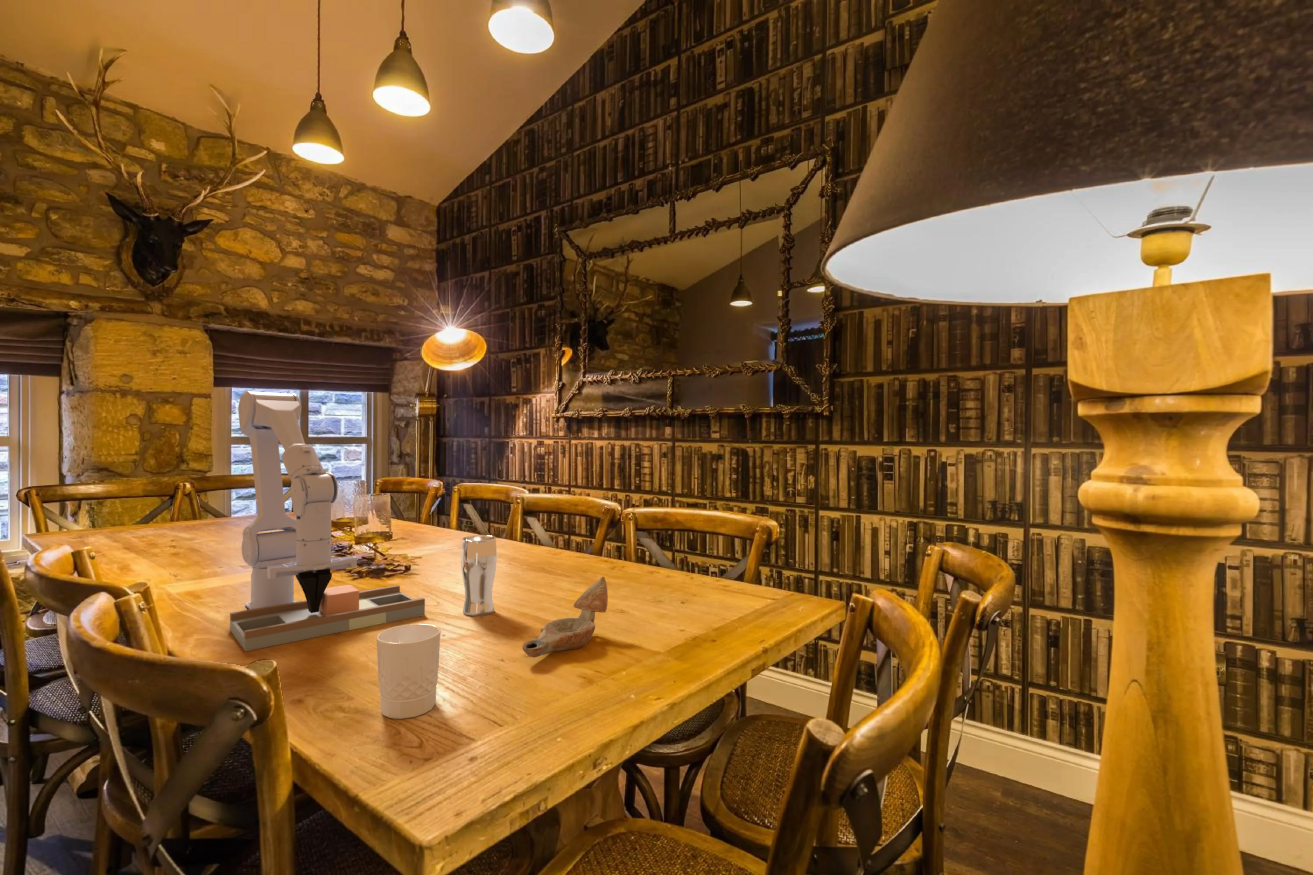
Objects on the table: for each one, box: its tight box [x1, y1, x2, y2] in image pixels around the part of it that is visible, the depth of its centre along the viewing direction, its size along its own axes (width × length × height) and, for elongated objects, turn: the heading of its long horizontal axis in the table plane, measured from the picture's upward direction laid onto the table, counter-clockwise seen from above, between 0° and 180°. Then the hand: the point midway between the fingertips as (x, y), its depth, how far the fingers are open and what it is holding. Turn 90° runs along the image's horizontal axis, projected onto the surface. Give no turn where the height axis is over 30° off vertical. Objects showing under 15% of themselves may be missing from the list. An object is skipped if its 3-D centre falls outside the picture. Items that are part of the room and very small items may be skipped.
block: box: [319, 584, 360, 616], centre depth 117 cm, size 6×6×4 cm
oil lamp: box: [521, 576, 609, 658], centre depth 105 cm, size 9×21×10 cm, turn 150°
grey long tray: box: [229, 584, 426, 652], centre depth 116 cm, size 14×30×3 cm, turn 133°
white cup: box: [376, 623, 442, 720], centre depth 81 cm, size 8×8×10 cm
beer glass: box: [460, 534, 498, 617], centre depth 124 cm, size 7×7×15 cm
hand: (313, 611), depth 114 cm, fingers closed
